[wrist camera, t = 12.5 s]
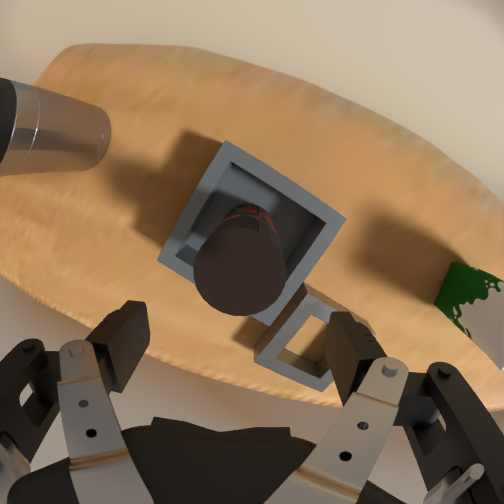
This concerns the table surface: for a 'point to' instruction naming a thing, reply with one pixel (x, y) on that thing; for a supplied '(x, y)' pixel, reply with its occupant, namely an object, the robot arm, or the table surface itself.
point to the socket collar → (284, 329)
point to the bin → (267, 197)
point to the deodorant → (241, 263)
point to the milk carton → (476, 308)
